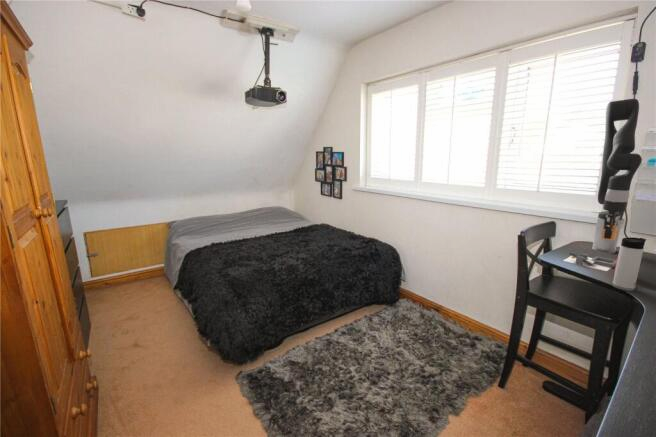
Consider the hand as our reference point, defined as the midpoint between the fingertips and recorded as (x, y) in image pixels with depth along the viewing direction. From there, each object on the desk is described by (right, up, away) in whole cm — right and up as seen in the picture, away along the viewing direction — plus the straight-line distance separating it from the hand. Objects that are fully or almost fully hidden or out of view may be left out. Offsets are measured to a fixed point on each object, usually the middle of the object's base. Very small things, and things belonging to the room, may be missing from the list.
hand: (608, 237), depth 139 cm
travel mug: (-11, -19, -19) cm, 29 cm away
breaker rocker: (-9, -10, +3) cm, 14 cm away
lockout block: (0, -1, 0) cm, 1 cm away
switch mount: (-9, -12, +4) cm, 16 cm away
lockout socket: (0, -12, +3) cm, 12 cm away
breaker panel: (-5, -13, +5) cm, 15 cm away
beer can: (-4, -17, -12) cm, 21 cm away
